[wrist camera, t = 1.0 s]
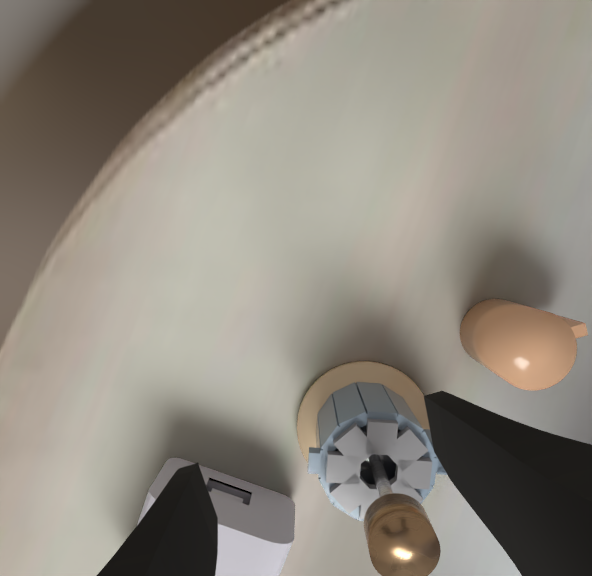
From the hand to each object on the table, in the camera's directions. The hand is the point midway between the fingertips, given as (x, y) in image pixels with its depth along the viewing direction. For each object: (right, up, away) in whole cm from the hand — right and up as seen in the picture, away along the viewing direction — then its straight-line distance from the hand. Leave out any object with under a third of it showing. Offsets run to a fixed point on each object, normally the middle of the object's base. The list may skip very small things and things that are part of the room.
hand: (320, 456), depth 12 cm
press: (+4, -4, +14) cm, 15 cm away
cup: (+12, +2, +14) cm, 18 cm away
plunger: (+4, -5, +11) cm, 12 cm away
